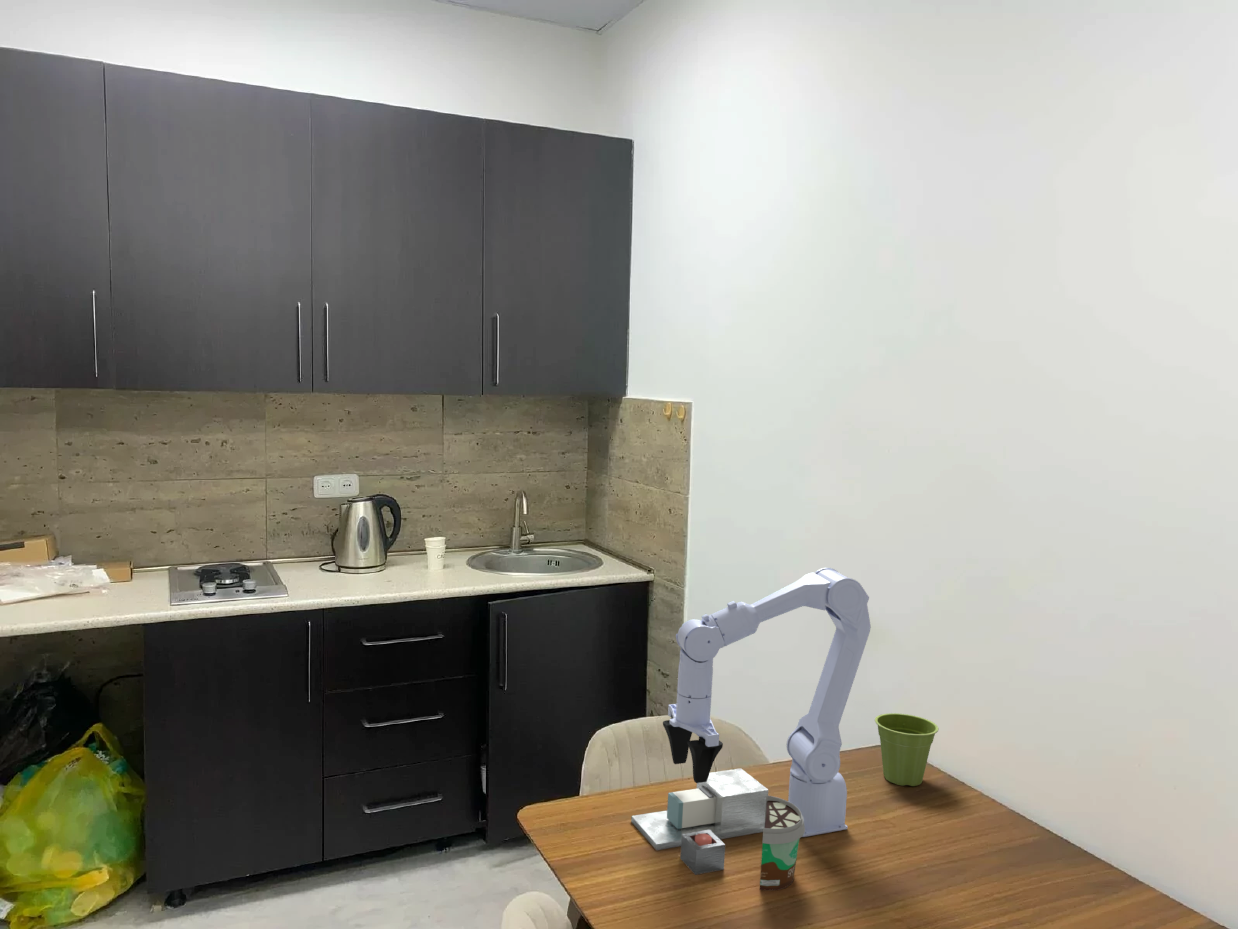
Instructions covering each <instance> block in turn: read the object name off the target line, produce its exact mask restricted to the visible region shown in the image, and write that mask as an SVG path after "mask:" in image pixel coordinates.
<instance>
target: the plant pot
mask: <svg viewBox="0 0 1238 929" xmlns="http://www.w3.org/2000/svg"><path fill="white" fill-rule="evenodd" d="M874 722H875V724H876V725H877V730H878V736H879V740H880V741H879V742H880V752H881V761H882V762H881V763H882V771H883V777H884V779H885V780H886V781H888V782H889V783H891V784H892V783H893V784H895V785H898V786H910V787H916V786H919V785H921V784H922V783H923V779H924V777H925V776H924V775H925V771H926V766H927V763H928V758H929V754H930V750H931V746H932V744H933V742H934V739H935V736H936V735H935V734H937V733H938V732H939V726H938V725H937V724H936V723H935V722H933V721H931V720H929V719H926V718H924V717H921V716H916V715H912V714H906V713H896V712H895V713H892V712H891V713H883V714H879V715H877V716H875V718H874Z"/></svg>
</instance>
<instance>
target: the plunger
mask: <svg viewBox="0 0 1238 929" xmlns="http://www.w3.org/2000/svg"><path fill="white" fill-rule="evenodd" d="M695 842H696V843H697V844H698V845H699V846H702V845H707V844H712V837H711V836H710V835H707V834H697V835H696V836H695Z"/></svg>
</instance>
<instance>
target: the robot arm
mask: <svg viewBox="0 0 1238 929" xmlns="http://www.w3.org/2000/svg"><path fill="white" fill-rule="evenodd" d="M869 600H870V596H869V595H868V594H867V592H866V590H865V589H864V587H863V585H861V583H860V582H859V581H858V580H856V579H853V578H851V577H848V576H846V575H844V574H843V573H841V572H839V571H838V570H837V569H835V568H831V567H822V568H819V569H818V570H816V571H814V572H813V571H812V572H809V573H806V574H804V575H803V576H801V577H800V578H798V579H797V580H796V581H794V582H792V583H790V584H788V585H785V587H782V588H780V589H778V590H777V591H774V592H772V593H770V594H769V595H766V596H765V597H763V598H761V599H759V600H757V601H755V602H753V603H747V602H745V601H738V602H736V601H735V600H732V601H729V602H727V603H726V607H724V608H722V609H720V610H717V611H715V612H713V613H710V614H707V613H705V614H703V615H701V619H696V618H693V619H692V618H691V619H689V620H687V621H685V622H683V623H682V624H681V626H679V629H678V632H677V633H676V634H675V639H676V643H677V645H678V647H679V648H680V650H679V662H678V672H677V688H676V703H672V704H668V707H667V708H668V710H667V711H668V712H667V716H668V717H669V719H668V720H663V721H662V726H663V728H664V730H665V733H666V735H667V738H668V741H669V747H670V752H671V757H672V762H673V764H674V765H681V764H687V760H688V756H689V755H688V754H689V751H690V755H691V763H692V778H693V782H694V783H696V784H697V783H702V782H707V779H708V776H709V773H711V770H712V767H713V764H714V762H715V759H716V758H717V756H718V754H719V753H720V751H721V750H722V749H723V747H724V743H723V741H721V740H720V734H719V733H718V732H717V731H716V728H715V726H714V723H713V721H712V719H711V709H712V708H711V707H712V694H713V692H712V691H713V690H712V689H713V674H714V673H713V672H714V667H713V666H714V658H716V656H717V654H718V653H719V651H720V650H721V649H723V648H725V647H727V646H729V645H731V644H733V643H736V642H738V641H740V640H743V639H745V638H747V637H749V636H751V635H754V634H756V632H757V630H758V629H759V626H760V624H761V623H763V622H765V621H768V620H771V619H774V618H775V617H779V616H781V615H784V614H787V613H788V612H792V611H794V610H797V609H799V608H803V607H807V608H813V609H817V610H821V611H826V612H827V614H828V615H829V617H830V619H831V621H832V622H833V624H834V626H835V631H834V634H833V637H832V641H831V643H830V646H829V648H828V649H829V650H828V652H827V656H826V659H825V661H824V664H823V667H822V671H821V673H820V676H819V680H818V683H817V685H816V690H815V691H814V695H813V698H812V701H811V703H810V704H811V705H810V707H809V710H808V712H807V713H806V714H804V715H803V716H801V717H800V719H798V723H797V725H796V727H795V728H794V730H792V732H791V733H790V734H789V735H788V738H787V741H786V751H787V753H788V755H789V756H790V757H791V758H792V759H791V765H790V769H789V785H788V798H787V799H788V800H787V801H788V802H790V803H792V804H794V805H795V806H796V807H797V808H798V809H799V810H800V811H801V813H802V816H803V820H804V826H805V833H804V834H803V836H802V837H801V838H806V837H811V836H816V835H823V834H828V833H832V832H833V833H834V832H838V831H843V830H847V829H848V825H847V824H846V823H845V821H846V811H847V798H848V788H847V785H846V780H845V779H844V777H843V775H842V774H841V773H840V772H839V770H840V768H841V756H840V752H841V748H842V744H843V742H842V738H841V733H840V728H839V726H840V723H841V720H842V718H843V717H842V716H843V714H844V712H845V708H846V706H847V702H848V699H849V696H850V694H851V693H850V692H851V690H852V687H853V684H854V681H855V677H856V675H857V671H858V668H859V666H860V663H861V660H862V656H863V654H864V650H865V647H866V645H867V641H868V639H869V635H870V632H871V628H872V627H871V619H870V613H869V607H868V603H869ZM693 734H695V735H696V736H698V739H694V740H693V739H692V740H691V738H692V735H693Z"/></svg>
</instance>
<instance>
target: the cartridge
mask: <svg viewBox="0 0 1238 929" xmlns="http://www.w3.org/2000/svg"><path fill="white" fill-rule="evenodd" d="M716 801H717V797H716V796H715V795H713V794H712V793H711V792H710V791H709V790H708V789H707V788H706V787H705V788H704V787H701V788H698V789H697V788H693V789H692V788H691V789H685V790H677V791H672V792H668V793H667V806H666V807H667V809H666V811H667V819H668V820H669V821H670V822H671V823H672V824H673V825H674V826H675V827H676V828H677V829H680V828H686V827H692V826H699V825H705V824H711V823H715V817H716Z"/></svg>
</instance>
